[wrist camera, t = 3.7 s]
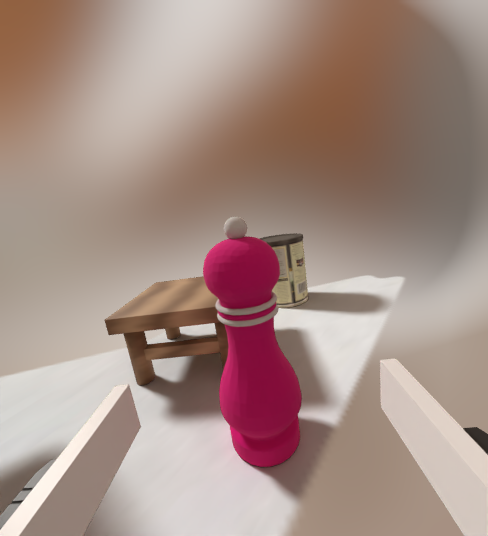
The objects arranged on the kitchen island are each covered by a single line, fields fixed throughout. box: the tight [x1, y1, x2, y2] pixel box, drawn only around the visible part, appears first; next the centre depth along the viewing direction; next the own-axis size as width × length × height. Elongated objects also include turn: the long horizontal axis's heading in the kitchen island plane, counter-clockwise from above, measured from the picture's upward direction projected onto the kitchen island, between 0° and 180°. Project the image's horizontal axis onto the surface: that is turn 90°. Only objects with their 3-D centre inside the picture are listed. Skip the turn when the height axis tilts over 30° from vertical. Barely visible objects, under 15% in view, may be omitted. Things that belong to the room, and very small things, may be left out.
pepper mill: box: [203, 217, 302, 467], centre depth 21 cm, size 7×7×20 cm
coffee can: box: [260, 234, 308, 308], centre depth 54 cm, size 10×10×14 cm
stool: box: [105, 276, 229, 385], centre depth 38 cm, size 16×16×10 cm
